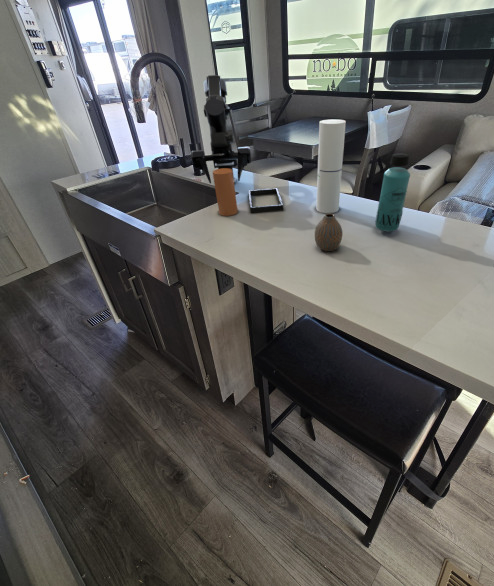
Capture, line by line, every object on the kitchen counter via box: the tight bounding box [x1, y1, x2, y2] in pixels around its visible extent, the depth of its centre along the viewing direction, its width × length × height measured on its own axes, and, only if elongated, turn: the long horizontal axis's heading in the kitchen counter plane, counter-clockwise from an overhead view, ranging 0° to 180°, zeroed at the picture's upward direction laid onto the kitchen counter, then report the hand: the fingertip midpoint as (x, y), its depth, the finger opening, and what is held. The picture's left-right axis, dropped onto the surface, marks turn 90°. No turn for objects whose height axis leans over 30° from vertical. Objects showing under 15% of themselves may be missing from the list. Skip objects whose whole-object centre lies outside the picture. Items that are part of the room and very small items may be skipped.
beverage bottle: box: [374, 153, 411, 232], centre depth 80 cm, size 6×7×20 cm
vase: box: [314, 213, 343, 252], centre depth 77 cm, size 7×7×9 cm
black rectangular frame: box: [247, 187, 284, 214], centre depth 106 cm, size 17×11×2 cm, turn 6°
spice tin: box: [212, 168, 239, 217], centre depth 97 cm, size 6×6×13 cm
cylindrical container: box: [315, 118, 346, 214], centre depth 93 cm, size 7×7×25 cm
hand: (224, 181), depth 100 cm, fingers open, 9 cm apart
